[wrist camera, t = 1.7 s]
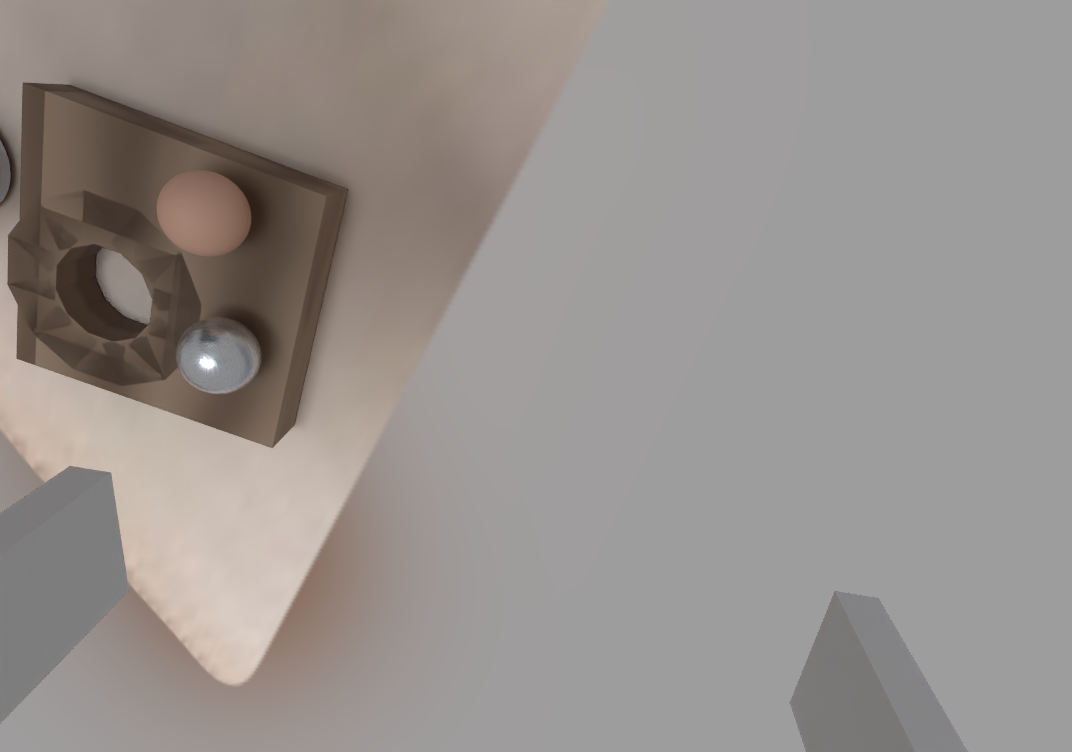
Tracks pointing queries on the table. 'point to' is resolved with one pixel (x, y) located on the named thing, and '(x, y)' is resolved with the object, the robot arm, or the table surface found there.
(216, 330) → the ball
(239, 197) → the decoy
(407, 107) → the table surface
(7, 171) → the pill bottle
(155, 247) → the brown flat square slab
